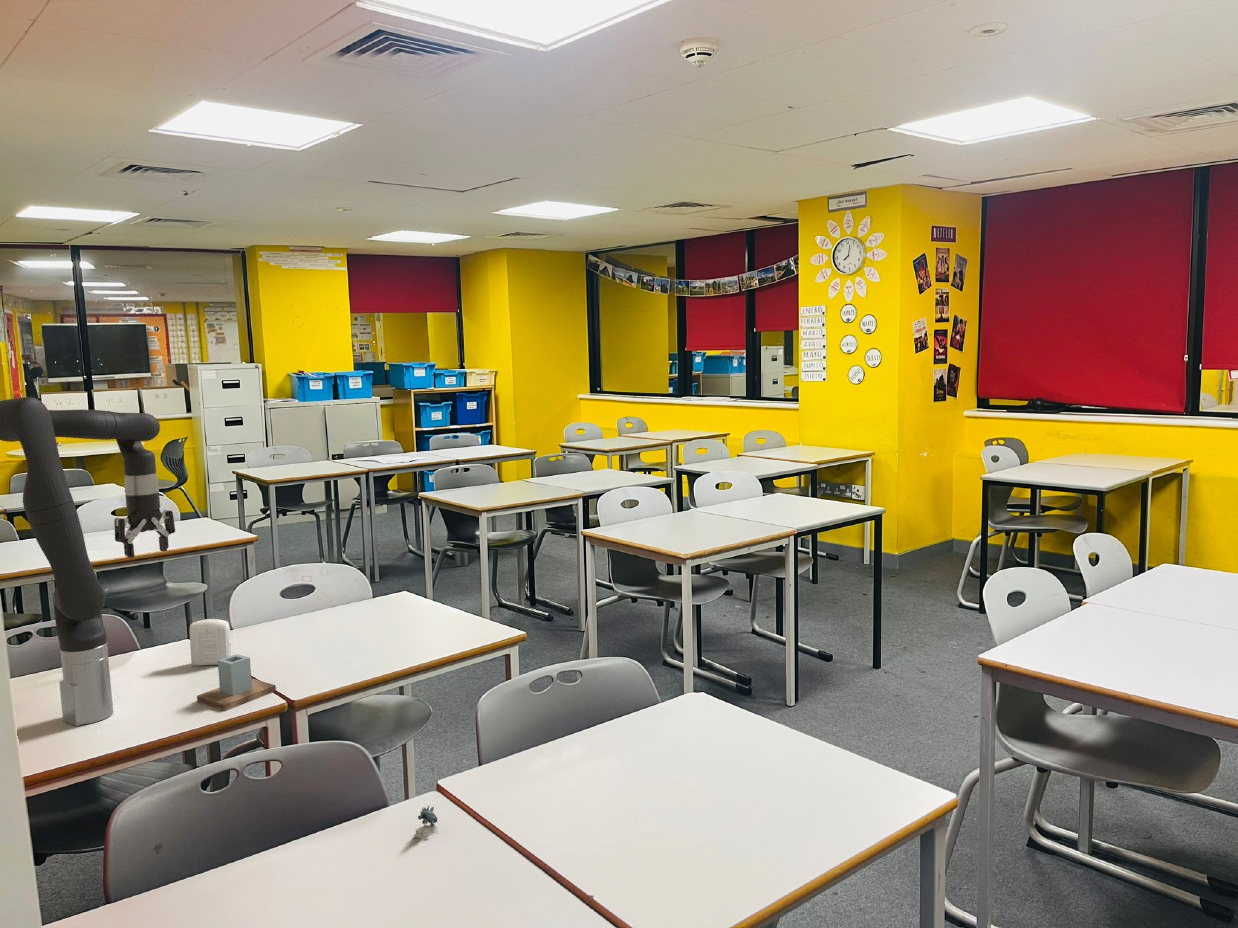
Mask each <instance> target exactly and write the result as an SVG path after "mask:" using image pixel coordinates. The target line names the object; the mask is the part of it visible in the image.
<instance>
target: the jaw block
mask: <svg viewBox="0 0 1238 928" xmlns="http://www.w3.org/2000/svg"><path fill="white" fill-rule="evenodd" d="M251 666H252V665H251V657H249V656H245V655H242V654H241V655H240V654H238V653H236V654H234V655H231V656H230V657H227V658H224V659H221V660H218V665H217V670H218V683H219V688H220V692H222V693H225V694H228V695H231V696H235V695H237V694H240V693H243V692H245V691H248V690H251V689H252V680H251V678H252V670H251V669H252V668H251Z"/></svg>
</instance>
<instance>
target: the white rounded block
mask: <svg viewBox="0 0 1238 928" xmlns="http://www.w3.org/2000/svg"><path fill="white" fill-rule="evenodd" d="M230 630H231V629H230V623H229V622H228V621H227V620H223V619H218V618H217V619H216V618H208V619H202V620H198V621H194V622H192V623H191V624H190V626H189V646H190V647H189V648H190V660H191V662H190V663H191V664H190V665H192V666H210V665H211V666H212V665H213V666H218V660H221V659H224V658H227V657H230V656H232V643H231V631H230Z"/></svg>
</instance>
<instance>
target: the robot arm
mask: <svg viewBox="0 0 1238 928" xmlns="http://www.w3.org/2000/svg"><path fill="white" fill-rule="evenodd" d="M160 431H161V424H160V422H159V420H158V418H156V417H155V416H154V415H152V414H150V413H148V412H147V413H146V412H145V413H144V412H117V411H110V410H101V409H98V410H97V409H58V410H57V409H48V408H47V406H46V405H45V403H44V402H43V401H42V400H39V399H38V398H36V397H33V396H24V397H16V398H9V399H3V400H0V441H2V442H7V443H9V442H11V443H12V442H19V443H20V445H21V447H22V451H23V454H24V458H25V461H26V477H25V482H24V487H23V493H22V504H23V505H22V506H23V508H24V512H25V515H26V519H27V521H28V524H29V527H30V530H31V532H32V534H33V536H34V538H35V540H36V542H37V543H38V546H39V547H40V549H41V551H42V552H43V555H44V556H45V558H46V560H47V561H48V563H49V565H50V568H51V570H52V574H53V577H54V582H55V585H56V587H55V589H54V591H53V597H52V599H53V600H52V602H53V611H54V619H55V620H54V621H55V628H56V629H55V630H56V634H57V637H58V642H59V649H60V659H61V660H60V661H61V668H62V679H63V680H60V681H59V691H60V701H61V703H60V704H61V713H62V720H63V722H65V723H67V724H70V725H73V726H75V727H78V726H81V725H87V724H92V723H97V722H100V721H102V720H105V719H108V718H109V717H110V716H112V715H113V714H114V705H113V696H112V683H111V673H110V662H109V661H110V660H109V652H108V651H109V650H108V639H107V632H106V628H105V625H104V620H103V615H102V610H103V609H104V606H105V603H106V594H105V590H104V588H103V587H102V585H101V582H100V581H99V578H98V577H97V575H96V573H95V570H94V567H93V566H92V563H91V561H90V558H89V554H88V551H87V547H86V542H85V536H84V534H83V529H82V525H81V521H80V518H79V513H78V511H77V507H76V505H75V501H74V498H73V496H72V493H71V491H70V488H69V484H68V481H67V478H66V477H67V476H66V474H65V470H64V467H63V465H62V464H63V463H62V461H61V457H60V453H59V448H58V445H57V444H58V443H57V438H67V439H69V438H71V439H81V440H82V439H83V440H98V441H99V440H102V441H103V440H104V441H107V440H108V441H110V440H115V441H116V444H117V446H118V450H119V451H120V454H121V456H122V459H123V468H124V493H125V507H126V511H127V516H126V517H124V518H119V517H116V518H115V519H114V540H115V542H117V543H122V544H123V551H124V556H125V557H127V558H128V559H133V558H135V548H134V547H135V546H134V543H133V541H134V540H135V539H136V537H137V536H139V534H140V533H145V532H148V531H150V532H152V531H155V532H156V533H157V535H159V536H158V544H159V551H160V552H167V551H168V549H169V547H170V546H169V536H170V535H172V534H175V532H176V528H175V527H176V526H175V520H174V519H175V518H174V513H173V510H168V509H165V510H164V509H163V511H161V510H160V509H161V498H160V487H159V479H158V475H157V465H156V456H155V453H154V452H153V451H152V450H148V449H146V448H144V446H143V444H142V442H150V441H152V440H154V439H156V437H157V436H158V435H159V434H160ZM161 519H162V520H163V521H164V522H163V523H164V526H163V525H162V523H160V521H161ZM127 524H128V525H129V526H128V528H127V529H125V528H126V527H127Z"/></svg>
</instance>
